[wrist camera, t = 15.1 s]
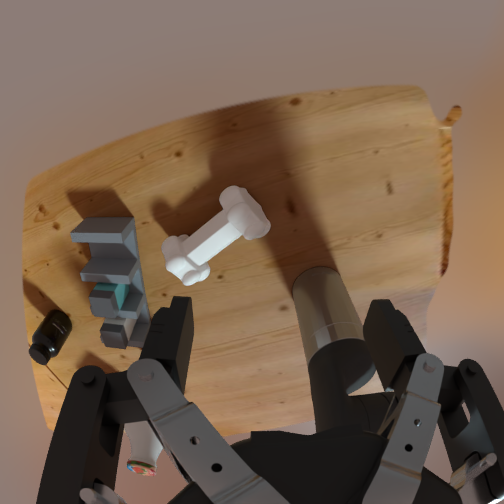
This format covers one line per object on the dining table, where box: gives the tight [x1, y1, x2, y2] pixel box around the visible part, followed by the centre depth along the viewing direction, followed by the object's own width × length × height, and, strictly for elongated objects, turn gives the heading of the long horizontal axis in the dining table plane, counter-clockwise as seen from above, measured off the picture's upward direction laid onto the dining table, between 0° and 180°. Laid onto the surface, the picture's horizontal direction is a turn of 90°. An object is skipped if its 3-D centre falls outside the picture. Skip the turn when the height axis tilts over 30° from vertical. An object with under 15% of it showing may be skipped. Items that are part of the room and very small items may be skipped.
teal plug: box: [89, 282, 130, 319], centre depth 47 cm, size 4×4×8 cm
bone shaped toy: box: [161, 185, 271, 286], centre depth 44 cm, size 15×9×8 cm, turn 129°
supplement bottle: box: [29, 310, 72, 365], centre depth 51 cm, size 7×7×12 cm
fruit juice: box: [124, 421, 163, 476], centre depth 48 cm, size 9×9×28 cm
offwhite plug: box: [100, 317, 137, 349], centre depth 50 cm, size 4×4×8 cm
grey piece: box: [70, 217, 151, 348], centre depth 48 cm, size 23×9×6 cm, turn 177°
